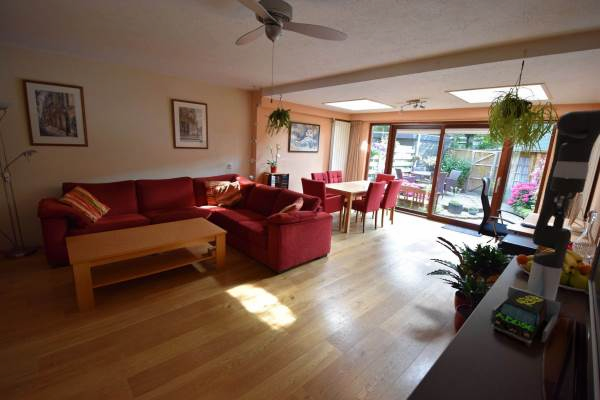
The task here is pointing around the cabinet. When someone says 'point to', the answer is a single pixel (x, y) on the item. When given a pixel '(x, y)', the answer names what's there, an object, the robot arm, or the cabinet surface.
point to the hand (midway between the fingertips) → (557, 229)
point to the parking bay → (550, 314)
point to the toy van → (521, 316)
